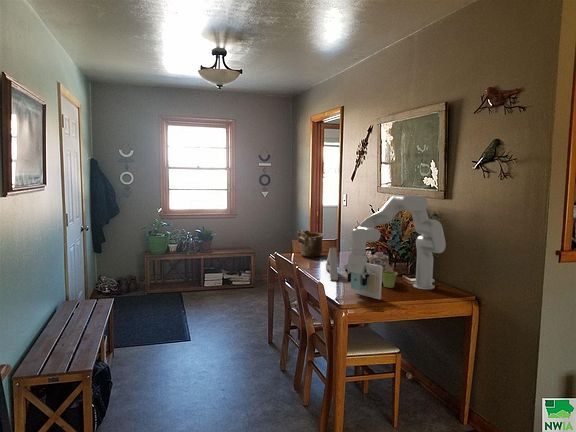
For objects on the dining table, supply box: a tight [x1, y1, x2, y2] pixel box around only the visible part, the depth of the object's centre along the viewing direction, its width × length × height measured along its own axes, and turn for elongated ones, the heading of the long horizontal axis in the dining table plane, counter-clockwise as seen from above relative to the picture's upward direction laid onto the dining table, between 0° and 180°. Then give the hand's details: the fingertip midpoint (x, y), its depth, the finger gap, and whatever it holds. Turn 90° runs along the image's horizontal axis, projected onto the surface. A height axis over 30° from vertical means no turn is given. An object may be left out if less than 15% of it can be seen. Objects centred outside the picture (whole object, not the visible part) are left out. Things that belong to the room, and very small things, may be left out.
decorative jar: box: [368, 251, 390, 284], centre depth 277 cm, size 12×12×18 cm
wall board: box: [354, 262, 383, 300], centre depth 240 cm, size 5×16×18 cm, turn 44°
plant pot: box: [382, 270, 399, 289], centre depth 263 cm, size 9×9×9 cm
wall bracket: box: [325, 246, 339, 282], centre depth 292 cm, size 22×4×30 cm
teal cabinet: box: [350, 270, 372, 291], centre depth 236 cm, size 11×6×9 cm, turn 134°
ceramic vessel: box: [296, 229, 324, 258], centre depth 354 cm, size 23×24×25 cm
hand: (356, 283), depth 234 cm, fingers open, 9 cm apart
